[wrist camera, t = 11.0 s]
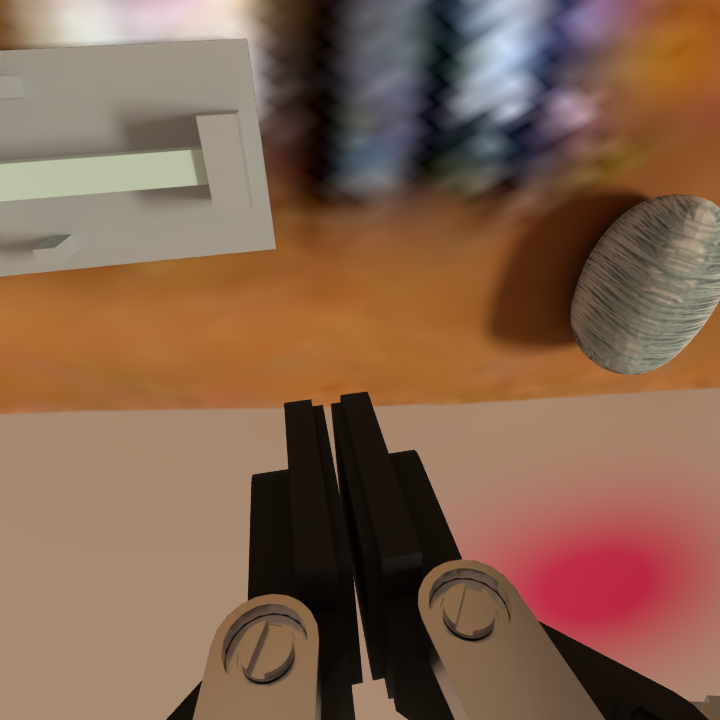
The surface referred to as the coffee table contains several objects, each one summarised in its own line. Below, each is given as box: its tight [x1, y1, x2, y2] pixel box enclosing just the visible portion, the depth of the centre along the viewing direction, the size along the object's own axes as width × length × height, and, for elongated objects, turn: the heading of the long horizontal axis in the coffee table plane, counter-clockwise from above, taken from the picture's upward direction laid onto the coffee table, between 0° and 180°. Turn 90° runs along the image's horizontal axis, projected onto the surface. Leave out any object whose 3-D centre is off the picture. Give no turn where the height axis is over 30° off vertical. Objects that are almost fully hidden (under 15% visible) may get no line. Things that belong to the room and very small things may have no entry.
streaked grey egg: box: [570, 194, 720, 374], centre depth 37 cm, size 14×10×10 cm
